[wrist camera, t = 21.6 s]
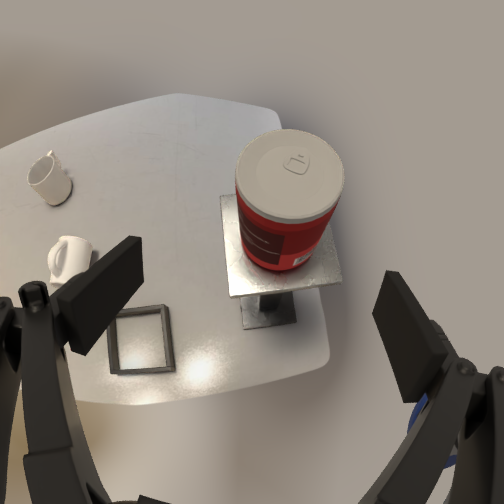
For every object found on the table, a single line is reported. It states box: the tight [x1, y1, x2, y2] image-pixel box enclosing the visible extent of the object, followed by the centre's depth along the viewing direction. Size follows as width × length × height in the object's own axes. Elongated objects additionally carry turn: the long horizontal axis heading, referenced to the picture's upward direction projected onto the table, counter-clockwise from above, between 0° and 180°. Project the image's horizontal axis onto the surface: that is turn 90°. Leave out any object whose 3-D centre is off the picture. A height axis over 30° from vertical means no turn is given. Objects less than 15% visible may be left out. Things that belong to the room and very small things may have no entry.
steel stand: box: [220, 194, 343, 330], centre depth 44 cm, size 11×11×30 cm
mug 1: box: [27, 150, 72, 205], centre depth 64 cm, size 12×9×11 cm
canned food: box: [235, 129, 345, 271], centre depth 25 cm, size 8×8×11 cm
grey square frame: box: [107, 304, 175, 374], centre depth 54 cm, size 13×13×3 cm
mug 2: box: [48, 236, 93, 289], centre depth 55 cm, size 8×10×12 cm
